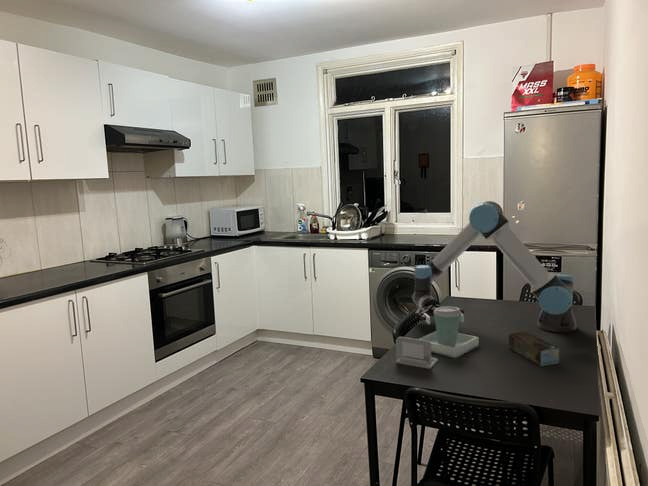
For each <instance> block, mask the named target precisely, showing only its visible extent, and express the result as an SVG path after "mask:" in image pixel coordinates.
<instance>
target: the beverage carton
mask: <svg viewBox="0 0 648 486" xmlns="http://www.w3.org/2000/svg"><path fill="white" fill-rule="evenodd" d="M508 348H509V349H510V350H512V351H514V352H516V353H517V354H519V355H521V356H522V357H524V358H526V359H528V360H529V361H532V362H533V363H535V364H537V365H538V366H540V367H544V366H549V365H550V366H551V365H555V364H556V365H557V364H559V363H560V348H559V347H557V346H555V345H553V344H551V343H550V342H548V341H546V340H543V339H542V338H540V337H538V336H535V335H534V334H532V333H530V332H528V331H527V330H526V331H525V330H524V331H521V332H518V331H517V332H515V333H509V334H508Z"/></svg>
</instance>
